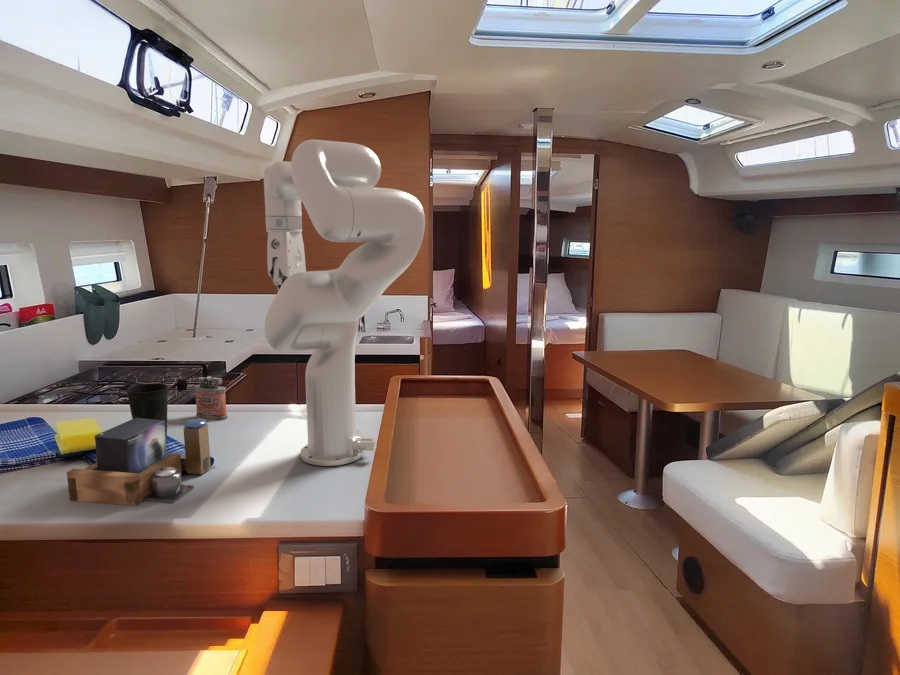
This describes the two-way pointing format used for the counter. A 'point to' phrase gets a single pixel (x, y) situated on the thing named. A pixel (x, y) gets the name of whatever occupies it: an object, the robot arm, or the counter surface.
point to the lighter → (210, 399)
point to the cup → (149, 402)
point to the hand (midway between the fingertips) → (287, 309)
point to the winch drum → (167, 486)
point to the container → (195, 447)
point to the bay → (115, 483)
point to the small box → (131, 446)
